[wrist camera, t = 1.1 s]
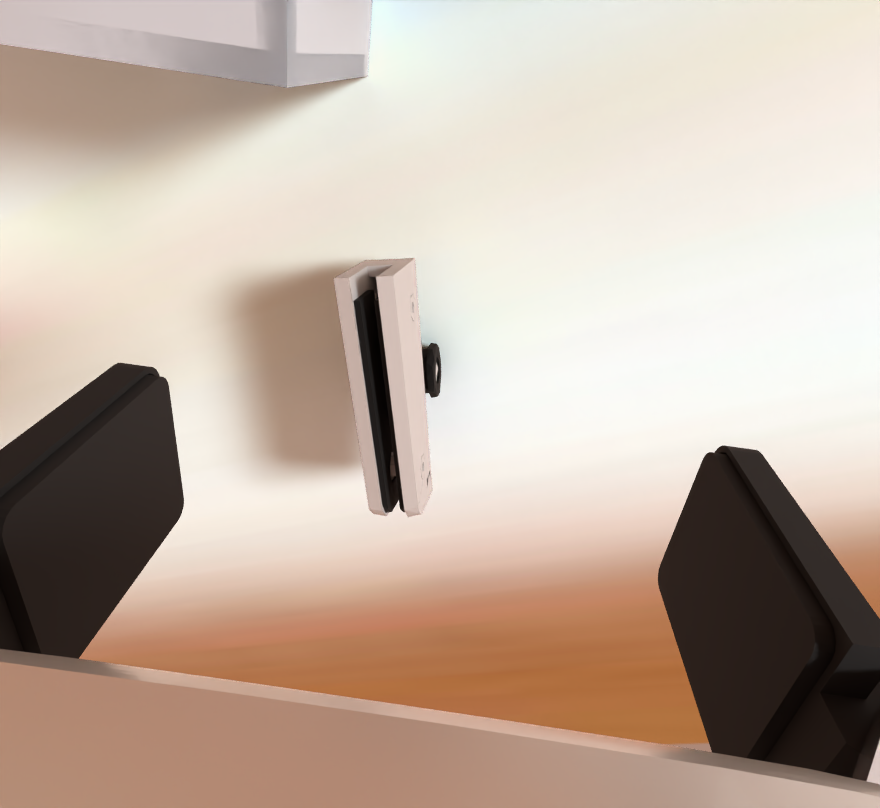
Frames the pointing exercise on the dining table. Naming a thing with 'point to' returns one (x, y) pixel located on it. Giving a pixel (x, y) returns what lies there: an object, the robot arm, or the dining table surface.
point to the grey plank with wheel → (389, 381)
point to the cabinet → (203, 35)
